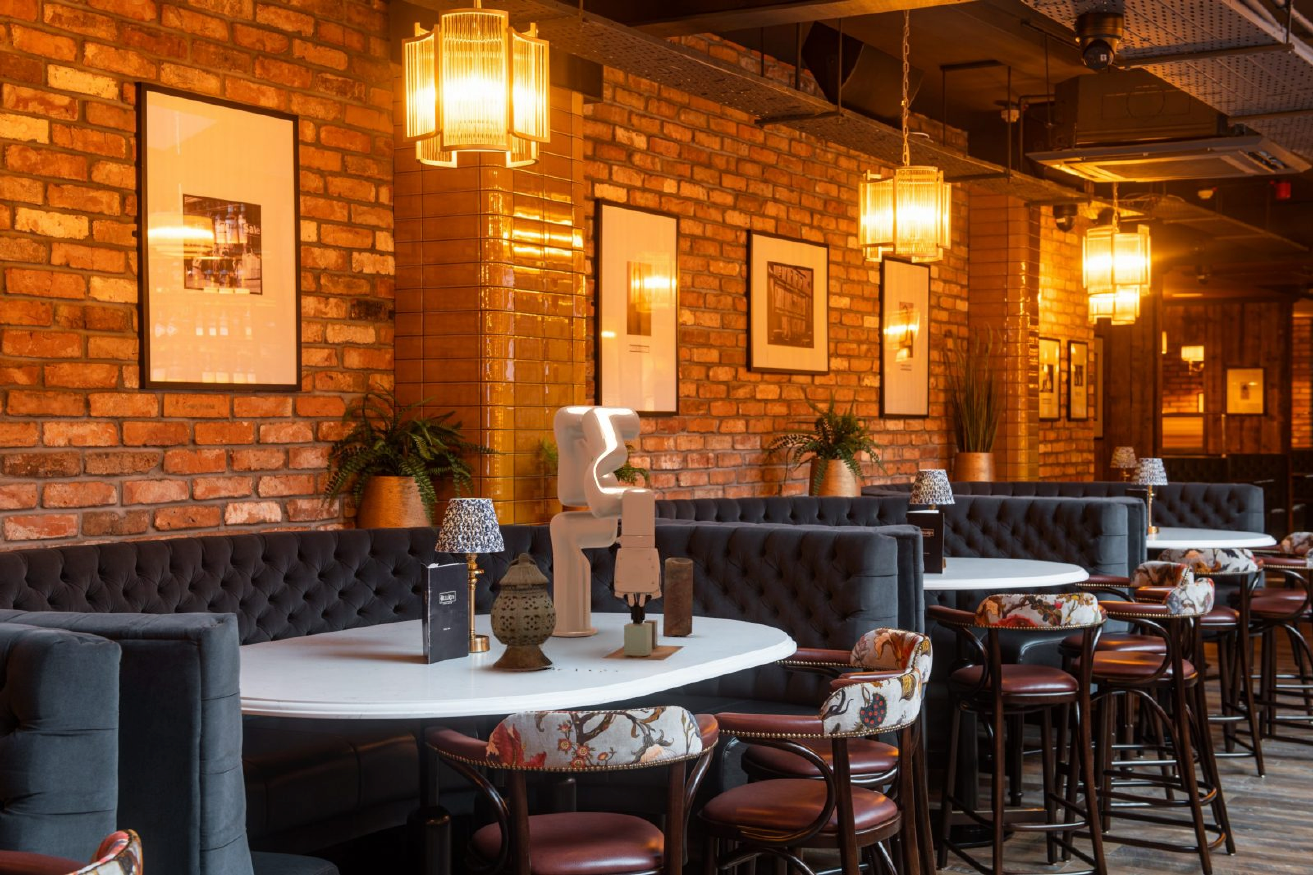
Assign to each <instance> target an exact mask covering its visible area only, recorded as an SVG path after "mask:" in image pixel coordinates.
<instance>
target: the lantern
mask: <svg viewBox="0 0 1313 875" xmlns="http://www.w3.org/2000/svg"><path fill="white" fill-rule="evenodd" d="M517 562H518V564H515V563H517ZM530 562H531V563H532V564H531V563H530ZM513 564H514V565H513ZM549 583H550V580H549V579H548V577H546V575H544V574H543V573H542V572H541V570H540V568H538V565H537V563H536V561H535V559H533V558H531V557H530V555H529V554H528V553H526V552H522V553H520V554H519V556H518V558H515V559H513V560H512V561H510V563H509V564H508V571H507V572H506V574H505V575H504V576H503V577H502V578H501V580H500V581H498V585H499V586H500V592H499V594H498V596H497V597H496V599H495V600H494V602H493V605H492V608H491V611H490V626H491V629H492V633H493V636H494V637H495V638H496V639H497V641H498V642H500V643H501V645H506V648H505V651H504V652H503V654H502V655H501V656H500V658H498V659H497V660H496V661H495V662H494V663H493V665H492V669H494V670H495V671H499V672H500V671H501V672H506V673H508V672H509V673H535V672H536V673H537V672H543V671H548V670H552V669H554V667H552V666H551V665H553V664H554V663H553V661H552V660H551V659H549V657H548V656H547V655H545V653H544V652H543V651H542V649H540V647H539V645H540V644H543V645H544V644H545V643H546V642H547V641H548V639H550V637H551V636H553V635H552V633H553V631H554V628H555V625H556V610H555V608H554V602H553V601H552V599H551V596H549V593H548V591H547V587H546V584H549ZM550 666H551V667H550Z"/></svg>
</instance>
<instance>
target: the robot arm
mask: <svg viewBox="0 0 1313 875" xmlns="http://www.w3.org/2000/svg"><path fill="white" fill-rule="evenodd" d="M552 424H553V433H554V438H555V442H556V445H557V451H558V460H557V499H558V500H559V503H560V504H561V505H563V506H566V507H588V508H589V510H586V511H585V510H571V511H568V510H567V511H562V512H559V513H557V514H555V515H554V516H553V517H552V518H551V520H550V523H549V532H550V539H551V545H552V554H553V555H552V557H553V605H554V608H555V610H556V625H555V628H554V631H553V633H552V635H551V636H554V637H566V638H569V637H570V638H574V637H587V636H588V637H589V636H594V635H596V634H597V631H598V630H597V628H595V627H592V625H591V623H592V622H591V619H592V616H591V609H592V608H591V606H592V605H591V604H592V603H591V601H592V600H591V593H592V592H591V590H592V589H591V588H592V587H591V586H592V585H591V583H592V582H591V578H592V577H591V571H592V570H591V564H590V561H589V560H588V558H587V557H586V555H585V554H584V553H583V551H582V549H593V548H594V549H595V548H596V549H598V548H609V547H611V546H612V545H613V544H620V545H619V546H620V547H621V548H617V551H616V557H615V566H614V578H613V579H614V580H613V582H614V583H613V588H614V590H615V591H614V596H615V598H616V597H617V598H621V599H624V600H625V601H626V602H627V603H628V605H629V606H630V621H632V623H633V624H641V623H644V621H645V620H646V605H648V603H649V602H650V601H651V600H656V599H659V598H661V597H662V591H661V588H662V576H661V563H660V557H659V556H660V555H659V552H658V548H655V545H656V544H655V543H656V542H655V541H656V540H655V529H656V528H655V527H656V526H655V524H656V523H655V522H656V521H655V514H656V513H655V502H656V501H655V499H656V498H655V492H654V491H653V489H650V488H644V487H641V486H620V485H619V482H618V478H617V476H616V474H615V473H614V472H615V471H617V470H618V469H621V468H622V467H623V466H624V465H625V463H626V462H627V460H628V457H629V456H628V455H629V454H628V450H627V447H626V444H625V442H633V441H636V440H637V439H638V437H639V436H640V433H641V425H642V423H641V419H640V416H639V414H638V413H637V411H636V410H635V409H633V408H632V407H630V406H619V405H618V406H617V405H614V406H613V405H567V406H563V407H561V408H559V409H558V410H556V412H555V415H554V418H553V423H552ZM619 519H621V535H620V536H617V535H618V526H619V525H618V523H619V521H618V520H619ZM637 594H640V596H639V600H638V599H637Z"/></svg>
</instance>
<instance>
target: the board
mask: <svg viewBox="0 0 1313 875" xmlns="http://www.w3.org/2000/svg"><path fill="white" fill-rule="evenodd" d="M684 647H685V646H683V645H663V644H662V645H661V644H659V645H658V644H657V648H656V649H652V653H650V654H648V655H647V656H643V657H635V656H631V655H624V646H621V647H620V648H619V649H616V650H615V651H613V652H611V653H609V654H607V655H605V656H604V657H602V659H612V660H613V659H615V660H616V659H619V660H639V661H640V660H642V661H643V660H644V661H665V660H666V659H668V658H669V657H671V656H672V655H673V654H675V653H676V652H678V651H680V650H681V649H682V648H684Z"/></svg>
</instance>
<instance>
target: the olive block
mask: <svg viewBox="0 0 1313 875" xmlns="http://www.w3.org/2000/svg"><path fill="white" fill-rule="evenodd" d="M623 647H624V655H643V656H647V655H648V654H650V653H652V623H644V622H643V623H641V624H633V622H628V623H627V624H625V625H623Z"/></svg>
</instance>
